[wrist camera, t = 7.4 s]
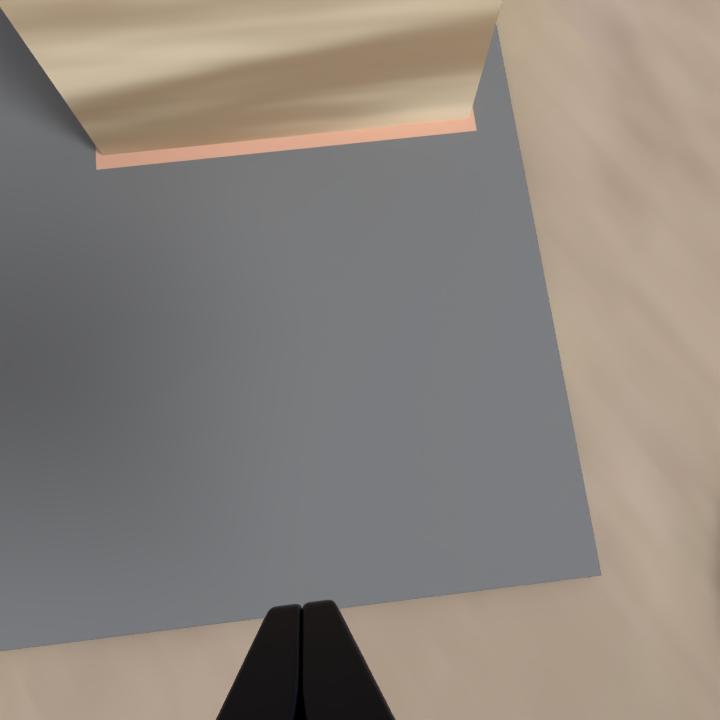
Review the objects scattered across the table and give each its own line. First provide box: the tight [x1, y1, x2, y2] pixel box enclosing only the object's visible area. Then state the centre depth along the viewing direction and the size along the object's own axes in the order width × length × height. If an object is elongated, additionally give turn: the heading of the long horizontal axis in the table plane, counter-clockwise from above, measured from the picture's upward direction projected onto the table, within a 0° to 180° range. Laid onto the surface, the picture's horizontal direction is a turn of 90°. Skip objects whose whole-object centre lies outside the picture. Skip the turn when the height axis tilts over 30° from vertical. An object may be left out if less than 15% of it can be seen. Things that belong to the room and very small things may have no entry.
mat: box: [0, 8, 601, 651], centre depth 22 cm, size 26×17×1 cm, turn 7°
